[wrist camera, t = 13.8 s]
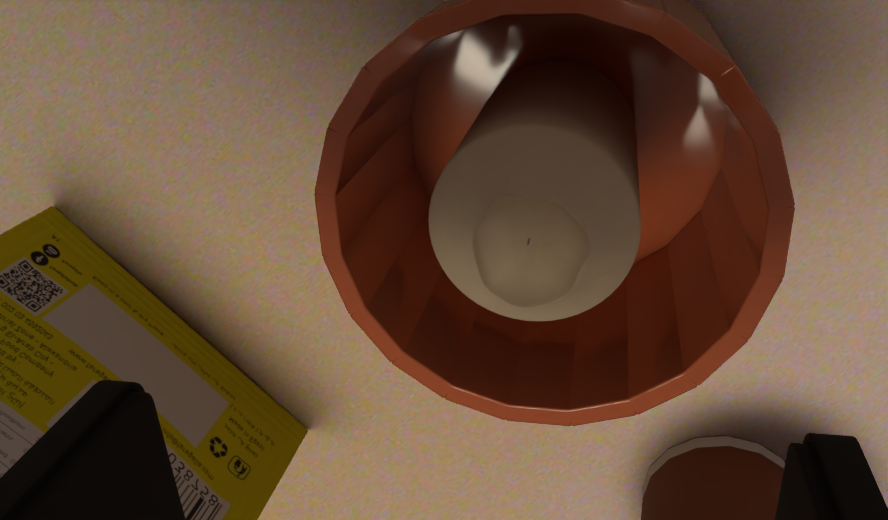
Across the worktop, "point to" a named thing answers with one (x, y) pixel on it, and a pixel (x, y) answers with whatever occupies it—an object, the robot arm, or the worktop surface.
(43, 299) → the food package
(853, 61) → the worktop surface
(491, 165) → the candle
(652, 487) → the coffee cup
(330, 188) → the pot cup
